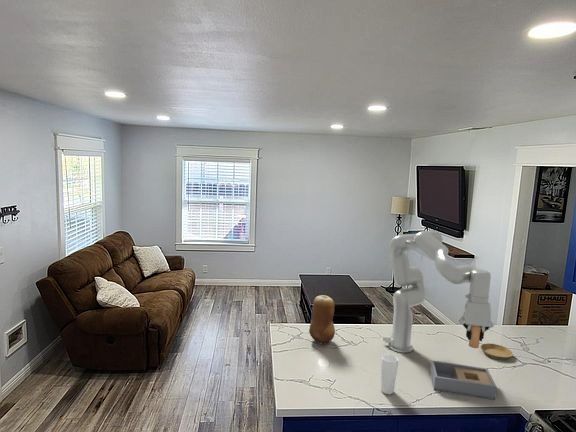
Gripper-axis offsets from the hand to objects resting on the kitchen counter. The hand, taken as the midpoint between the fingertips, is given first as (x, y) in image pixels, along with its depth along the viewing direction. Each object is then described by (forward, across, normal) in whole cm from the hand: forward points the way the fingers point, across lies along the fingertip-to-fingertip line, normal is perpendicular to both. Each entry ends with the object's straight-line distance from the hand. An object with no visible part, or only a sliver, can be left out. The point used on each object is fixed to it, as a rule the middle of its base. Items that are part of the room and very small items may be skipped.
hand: (474, 339), depth 172 cm
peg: (+3, 0, 0) cm, 3 cm away
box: (+22, -4, -1) cm, 22 cm away
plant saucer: (+22, +20, +37) cm, 47 cm away
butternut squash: (+21, -69, +22) cm, 76 cm away
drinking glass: (+22, -36, -15) cm, 44 cm away
